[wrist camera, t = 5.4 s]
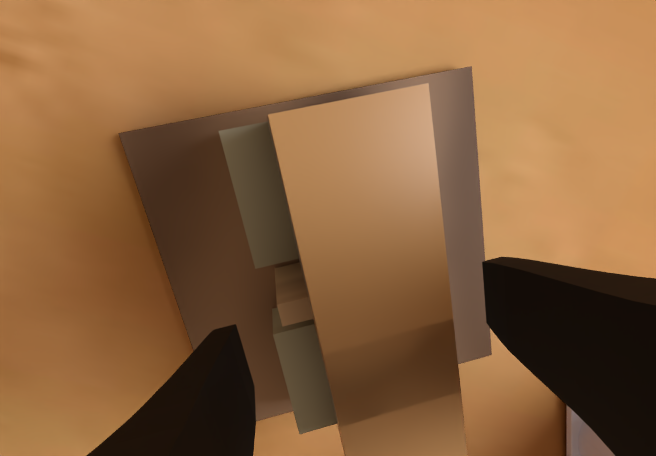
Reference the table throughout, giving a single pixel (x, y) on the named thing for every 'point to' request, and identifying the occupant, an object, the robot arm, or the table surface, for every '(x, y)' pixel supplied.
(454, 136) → the display stand
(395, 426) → the grey tan long block
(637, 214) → the table surface
